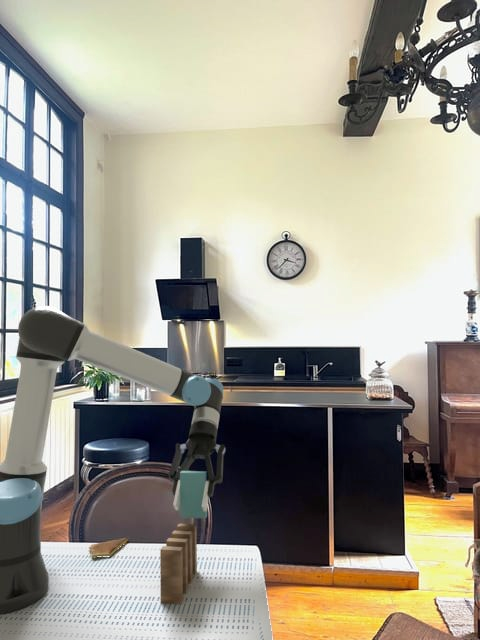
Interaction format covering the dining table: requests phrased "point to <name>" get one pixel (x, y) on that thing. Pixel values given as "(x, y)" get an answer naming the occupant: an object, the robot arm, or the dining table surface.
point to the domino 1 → (192, 494)
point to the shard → (107, 547)
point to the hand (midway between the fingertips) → (189, 508)
